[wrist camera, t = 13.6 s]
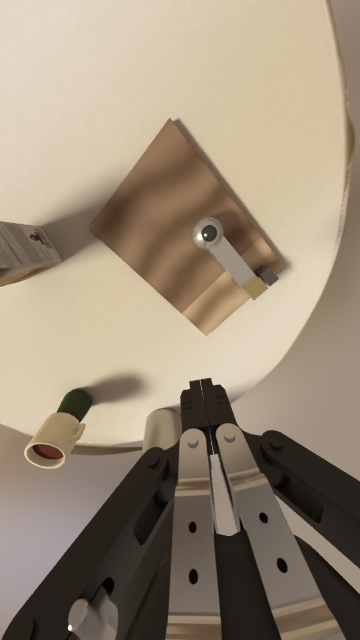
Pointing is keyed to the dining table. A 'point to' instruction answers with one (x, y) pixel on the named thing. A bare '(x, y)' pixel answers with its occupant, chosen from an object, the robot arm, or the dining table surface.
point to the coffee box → (24, 252)
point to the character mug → (59, 432)
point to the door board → (180, 230)
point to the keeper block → (266, 275)
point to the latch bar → (226, 256)
